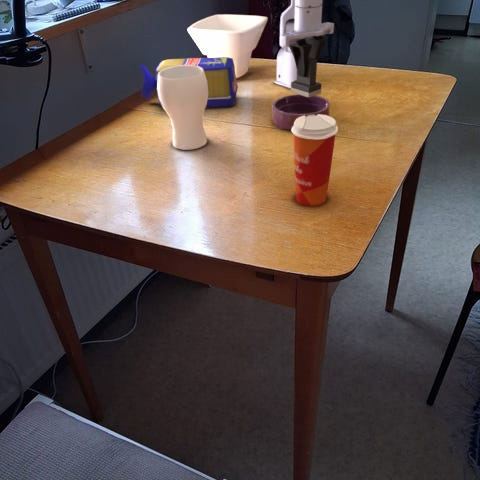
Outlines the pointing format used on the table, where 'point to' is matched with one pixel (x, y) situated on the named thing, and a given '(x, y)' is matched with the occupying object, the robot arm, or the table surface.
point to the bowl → (229, 37)
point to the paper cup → (313, 157)
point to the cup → (184, 103)
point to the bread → (216, 73)
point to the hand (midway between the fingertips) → (305, 74)
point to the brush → (307, 81)
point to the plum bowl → (297, 109)
